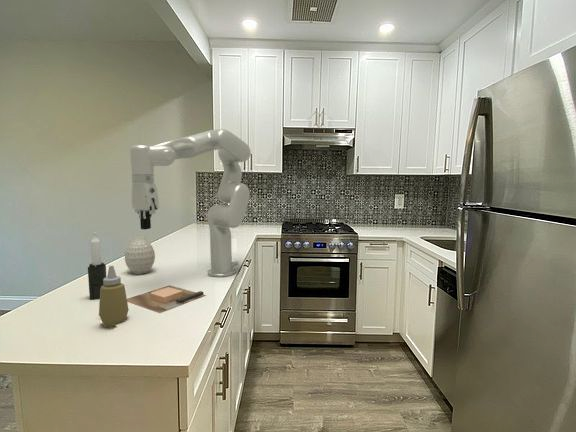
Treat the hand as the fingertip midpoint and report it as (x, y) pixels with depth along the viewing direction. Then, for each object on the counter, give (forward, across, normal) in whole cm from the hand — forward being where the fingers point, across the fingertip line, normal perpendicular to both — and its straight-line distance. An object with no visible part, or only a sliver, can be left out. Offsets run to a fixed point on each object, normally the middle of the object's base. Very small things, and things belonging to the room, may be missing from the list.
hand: (145, 228), depth 130 cm
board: (+25, -12, +2) cm, 28 cm away
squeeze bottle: (+25, -15, +23) cm, 37 cm away
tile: (+23, -8, +2) cm, 24 cm away
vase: (+25, +28, -16) cm, 41 cm away
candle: (+25, +9, +14) cm, 30 cm away
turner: (+24, -20, +1) cm, 31 cm away
